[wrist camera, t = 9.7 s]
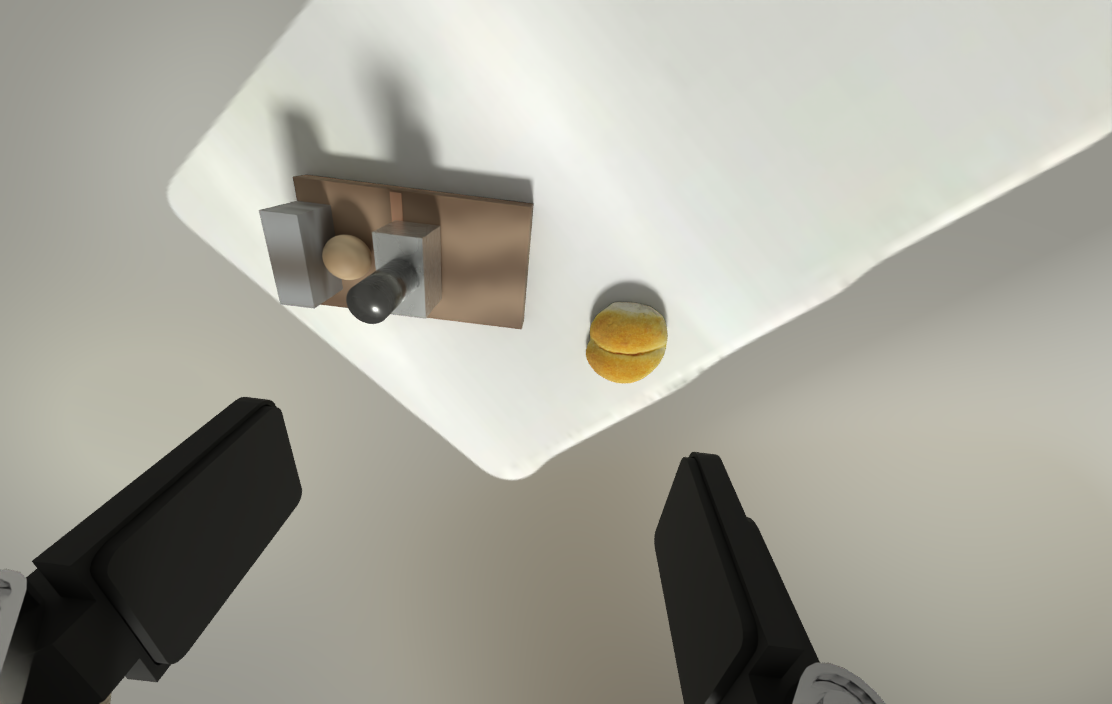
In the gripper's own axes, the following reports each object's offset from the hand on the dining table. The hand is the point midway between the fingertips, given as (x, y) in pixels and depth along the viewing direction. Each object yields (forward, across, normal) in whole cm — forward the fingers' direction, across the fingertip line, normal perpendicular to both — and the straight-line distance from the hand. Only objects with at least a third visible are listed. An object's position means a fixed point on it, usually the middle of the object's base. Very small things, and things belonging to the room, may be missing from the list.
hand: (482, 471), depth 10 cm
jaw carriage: (+30, +12, +5) cm, 32 cm away
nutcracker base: (+32, +12, +5) cm, 35 cm away
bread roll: (+33, -9, +12) cm, 36 cm away
